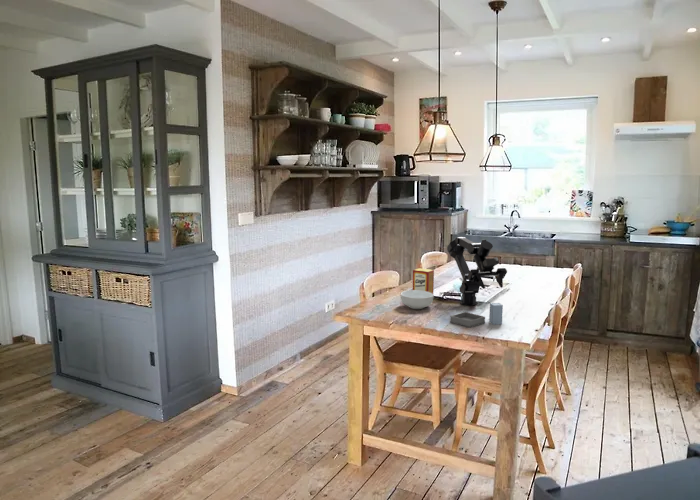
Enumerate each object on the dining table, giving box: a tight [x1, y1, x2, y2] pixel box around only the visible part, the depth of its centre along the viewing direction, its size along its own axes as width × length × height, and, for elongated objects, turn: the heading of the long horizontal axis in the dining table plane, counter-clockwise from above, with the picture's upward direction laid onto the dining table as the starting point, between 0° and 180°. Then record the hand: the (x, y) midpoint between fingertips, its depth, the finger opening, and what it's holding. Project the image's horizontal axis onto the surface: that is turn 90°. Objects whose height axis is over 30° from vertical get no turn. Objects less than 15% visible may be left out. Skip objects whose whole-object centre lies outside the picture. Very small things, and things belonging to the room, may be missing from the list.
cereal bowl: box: [400, 289, 434, 310], centre depth 273 cm, size 17×17×7 cm
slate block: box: [488, 302, 504, 325], centre depth 245 cm, size 4×4×9 cm
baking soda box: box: [412, 267, 435, 295], centre depth 291 cm, size 10×6×16 cm
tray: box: [449, 311, 486, 328], centre depth 246 cm, size 11×11×3 cm
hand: (493, 287), depth 252 cm, fingers open, 9 cm apart
